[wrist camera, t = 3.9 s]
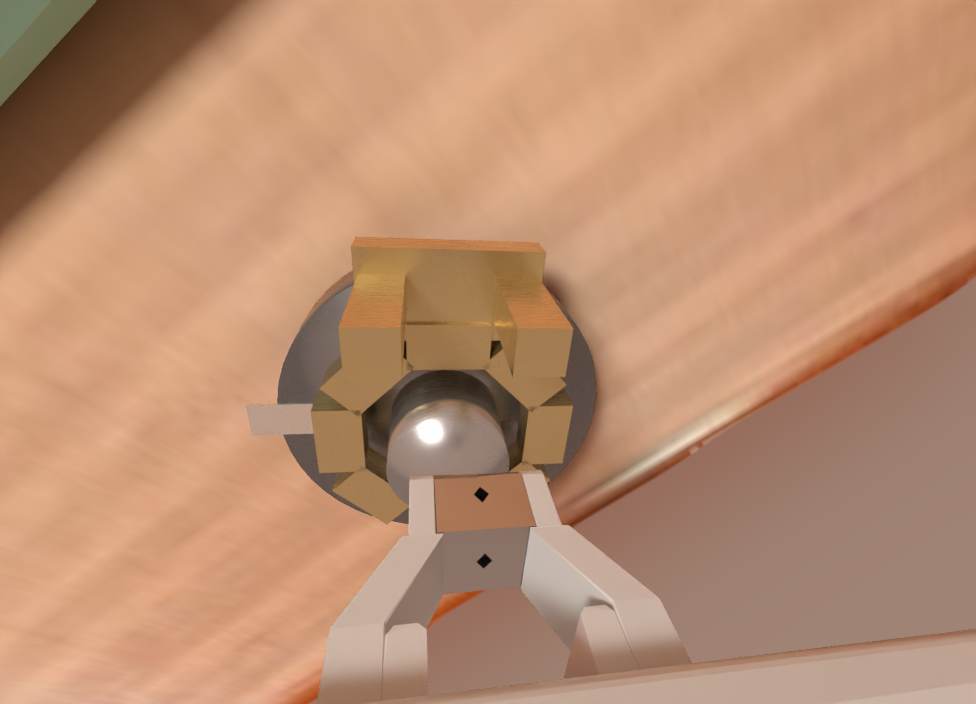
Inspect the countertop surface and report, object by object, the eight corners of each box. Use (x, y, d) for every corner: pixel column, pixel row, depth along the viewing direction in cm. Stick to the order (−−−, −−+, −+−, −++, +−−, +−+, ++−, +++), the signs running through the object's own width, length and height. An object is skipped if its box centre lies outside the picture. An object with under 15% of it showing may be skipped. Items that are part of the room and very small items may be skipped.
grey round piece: (446, 172, 23) (458, 198, 16) (631, 383, 31) (689, 459, 24) (226, 389, 27) (163, 481, 20) (439, 527, 35) (443, 625, 28)
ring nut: (544, 499, 30) (576, 599, 24) (333, 510, 28) (309, 623, 22) (588, 244, 22) (653, 297, 16) (297, 235, 20) (243, 291, 14)
